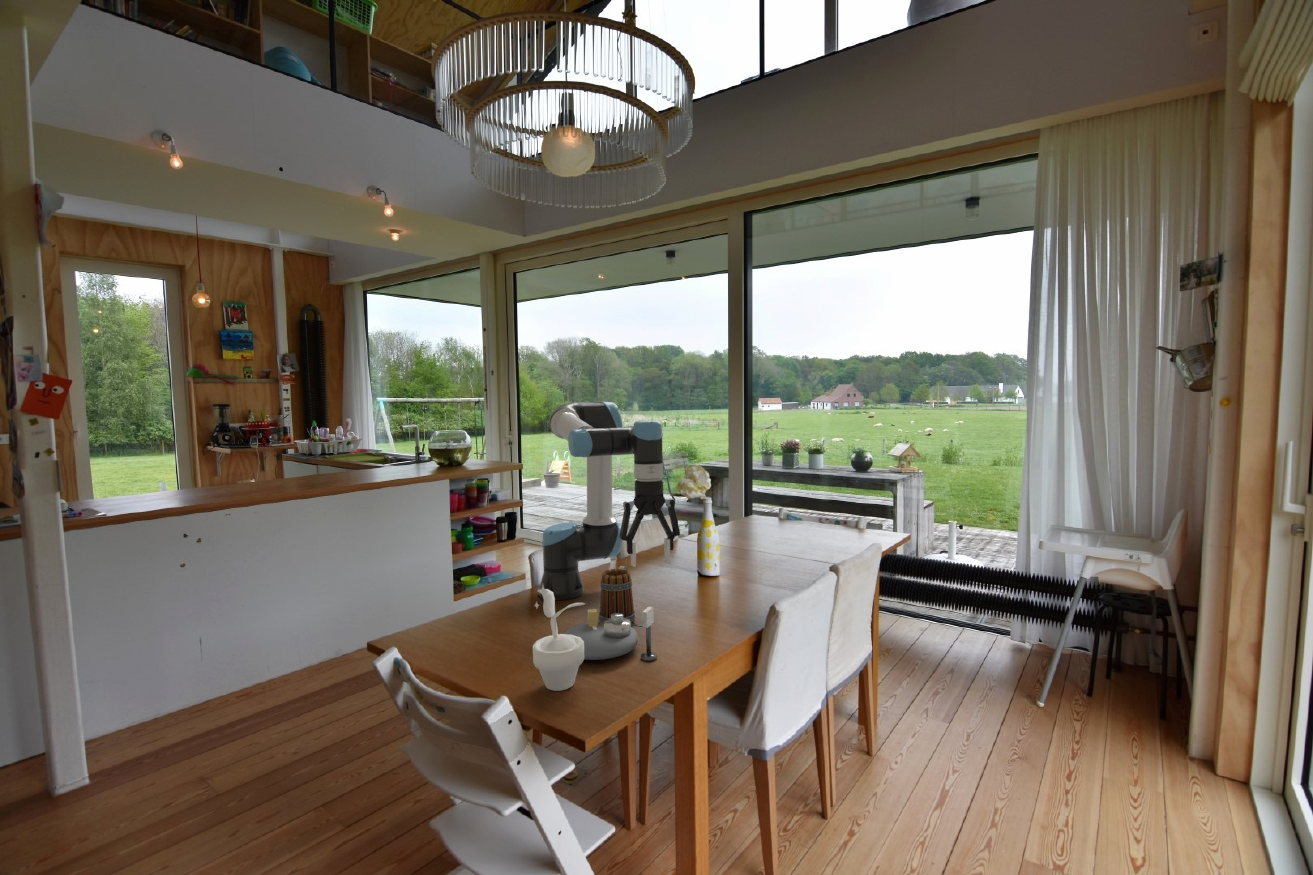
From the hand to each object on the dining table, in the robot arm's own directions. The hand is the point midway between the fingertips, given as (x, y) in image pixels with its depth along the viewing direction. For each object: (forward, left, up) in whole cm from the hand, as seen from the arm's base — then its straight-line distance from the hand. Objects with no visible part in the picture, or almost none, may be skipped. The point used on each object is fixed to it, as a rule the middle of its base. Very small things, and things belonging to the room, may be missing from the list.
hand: (650, 563), depth 162 cm
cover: (0, -9, -18) cm, 20 cm away
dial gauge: (+8, -5, -21) cm, 23 cm away
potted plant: (+17, -26, -22) cm, 38 cm away
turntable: (0, -14, -20) cm, 24 cm away
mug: (-20, -5, -22) cm, 30 cm away
